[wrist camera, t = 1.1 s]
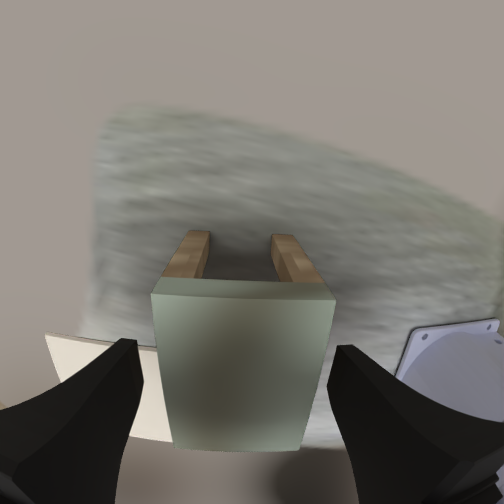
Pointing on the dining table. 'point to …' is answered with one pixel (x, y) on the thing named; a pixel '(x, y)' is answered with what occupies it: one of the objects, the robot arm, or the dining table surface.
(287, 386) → the board with wooden rails
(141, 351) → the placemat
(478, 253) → the dining table surface
